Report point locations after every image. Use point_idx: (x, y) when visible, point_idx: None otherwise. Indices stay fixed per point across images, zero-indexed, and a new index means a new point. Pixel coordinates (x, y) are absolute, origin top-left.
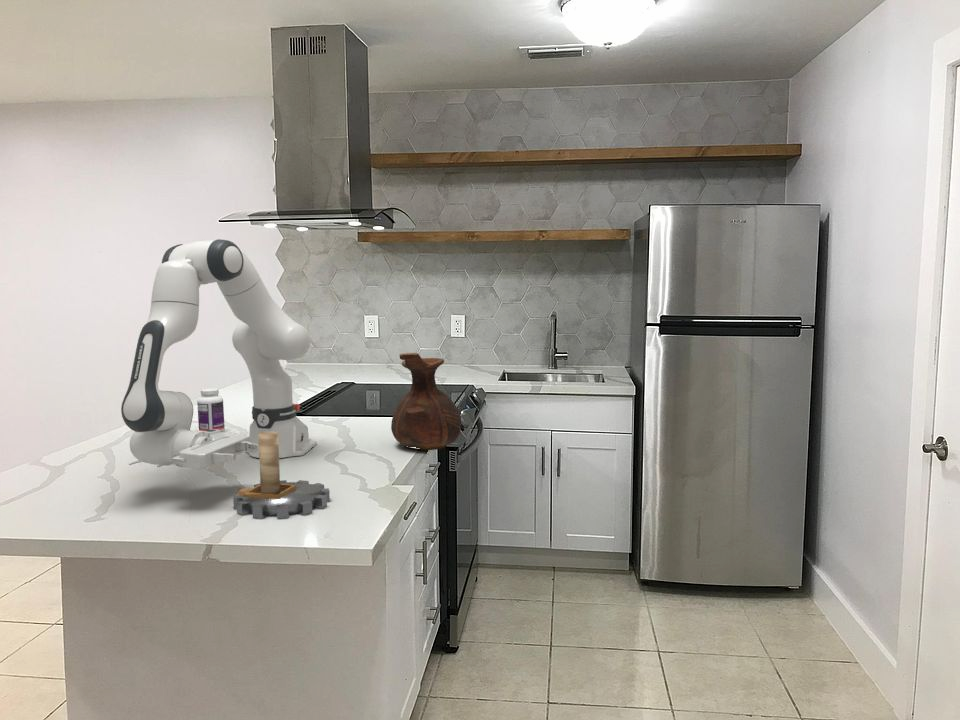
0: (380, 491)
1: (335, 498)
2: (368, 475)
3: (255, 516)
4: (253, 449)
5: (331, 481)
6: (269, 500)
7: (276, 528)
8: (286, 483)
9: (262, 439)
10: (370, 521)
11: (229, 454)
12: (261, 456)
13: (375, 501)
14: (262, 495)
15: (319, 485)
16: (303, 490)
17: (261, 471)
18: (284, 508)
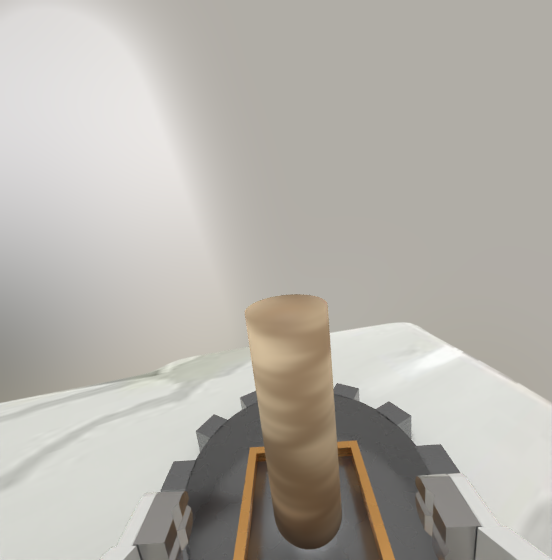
0: (196, 374)
1: (240, 408)
2: (72, 422)
3: None
4: (187, 519)
5: (92, 473)
6: (380, 461)
7: (452, 412)
8: (198, 513)
9: (328, 320)
10: (331, 342)
11: (475, 492)
12: (332, 394)
13: (248, 362)
14: (372, 490)
15: (219, 420)
16: None
17: (335, 451)
18: (395, 408)
